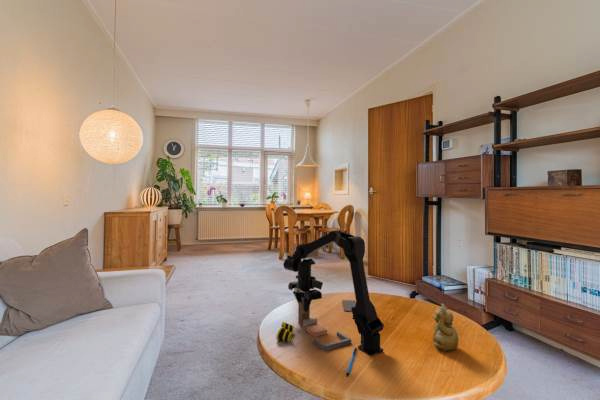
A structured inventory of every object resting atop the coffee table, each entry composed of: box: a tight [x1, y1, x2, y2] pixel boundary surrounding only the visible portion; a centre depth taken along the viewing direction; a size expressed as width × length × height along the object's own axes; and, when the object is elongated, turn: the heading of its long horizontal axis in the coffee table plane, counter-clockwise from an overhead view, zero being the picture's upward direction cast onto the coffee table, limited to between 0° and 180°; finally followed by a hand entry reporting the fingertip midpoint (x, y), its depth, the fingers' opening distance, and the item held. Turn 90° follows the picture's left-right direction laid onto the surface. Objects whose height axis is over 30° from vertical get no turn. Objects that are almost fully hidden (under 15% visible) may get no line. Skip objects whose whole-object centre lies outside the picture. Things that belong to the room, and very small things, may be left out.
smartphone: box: [341, 299, 356, 313], centre depth 151 cm, size 7×1×15 cm
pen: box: [346, 347, 358, 378], centre depth 99 cm, size 1×19×1 cm, turn 161°
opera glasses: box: [276, 320, 295, 343], centre depth 116 cm, size 10×5×5 cm, turn 172°
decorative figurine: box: [433, 303, 460, 353], centre depth 109 cm, size 10×8×15 cm
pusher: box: [297, 301, 318, 331], centre depth 128 cm, size 8×6×9 cm
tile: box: [305, 323, 328, 338], centre depth 121 cm, size 6×6×2 cm
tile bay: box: [312, 331, 352, 352], centre depth 112 cm, size 8×12×2 cm, turn 120°
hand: (304, 310), depth 129 cm, fingers closed on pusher, 3 cm apart
